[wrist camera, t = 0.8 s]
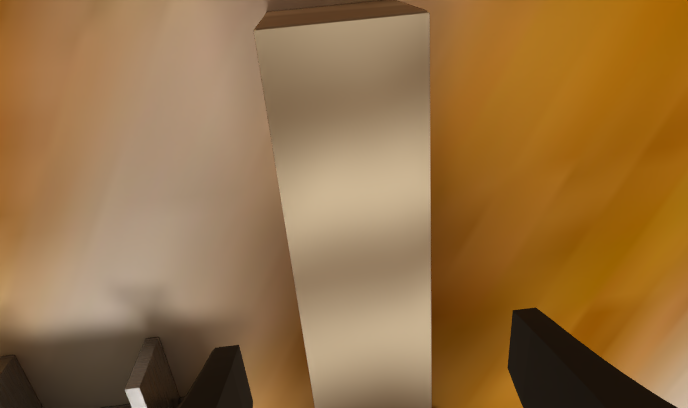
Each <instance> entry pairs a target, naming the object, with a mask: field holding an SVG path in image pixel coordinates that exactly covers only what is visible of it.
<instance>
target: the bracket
mask: <svg viewBox="0 0 688 408" xmlns="http://www.w3.org/2000/svg"><path fill="white" fill-rule="evenodd" d="M125 392H126V395H127V397H128V399H129V402H130V404H127V405H119V406H111V407H103V408H179V406H180V405H181V403H182V402H183V400H184V398H185V397H181V398H179V395H178V392H177V389H176V386H175V383H174V380H173V377H172V375H171V372H170V369H169V366H168V363H167V360H166V357H165V354H164V351H163V348H162V345H161V343H160V340H159V337H155V338H147V339H145V341H144V344H143V346H142V349H141V351H140V353H139V356H138V358H137V361H136V363H135V365H134V368H133V370H132V373H131V375H130V377H129V380H128V382H127V385H126V387H125ZM0 408H42V406H41V404H40V402H39V400H38V398H37V396H36V395H35V393H34V391H33V389H32V387H31V385H30V383H29V381H28V380H27V378H26V376H25V374H24V372H23V370H22V368H21V366H20V365H19V363H18V361H17V359H16V357H15V355H10V356H2V357H0Z"/></svg>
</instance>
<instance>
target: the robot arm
mask: <svg viewBox="0 0 688 408" xmlns="http://www.w3.org/2000/svg"><path fill="white" fill-rule="evenodd" d="M508 370H509V373H510V375H511V378H512V381H513V383H514V386H515V389H516V391H517V393H518V396H519V398H520V401H521V403H522V406H523V407H524V408H677V407H676V406H674V405H672V404H670V403H669V402H667V401H665V400H664V399H662V398H660V397H659V396H657V395H656V394H654V393H652V392H651V391H649V390H648V389H646V388H645V387H643V386H642V385H640V384H639V383H637V382H636V381H634V380H633V379H631V378H630V377H628V376H627V375H625V374H624V373H622V372H621V371H619V370H618V369H616V368H615V367H614V366H612V365H611V364H609V363H608V362H607V361H605V360H604V359H602V358H601V357H600V356H598V355H597V354H596V353H594V352H593V351H592V350H590V349H589V348H588V347H586V346H585V345H584V344H582V343H581V342H580V341H578V340H577V339H576V338H574V337H573V336H572V335H571V334H569V333H568V332H567V331H565V330H564V329H563V328H562V327H560V326H559V325H558V324H556V323H555V322H554V321H553V320H551V319H550V318H549V317H547V316H546V315H545V314H544V313H542V312H541V311H540V310H538V309H537V308H529V309H521V310H513V316H512V327H511V337H510V348H509V359H508ZM179 408H253V400H252V396H251V391H250V387H249V383H248V379H247V375H246V371H245V367H244V363H243V359H242V355H241V351H240V347H239V345H234V346H227V347H219V348H215V349H214V350H213V351H212V353H211V354H210V356H209V358H208V360H207V361H206V363H205V365H204V367H203V369H202V370H201V372H200V374H199V375H198V377H197V379H196V381H195V382H194V384H193V386H192V387H191V389H190V390H189V392H188V394H187V395H186V397H185V398H184V400H183V402H182V403H181V405H180V406H179Z"/></svg>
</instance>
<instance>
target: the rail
mask: <svg viewBox="0 0 688 408" xmlns="http://www.w3.org/2000/svg"><path fill="white" fill-rule="evenodd" d="M254 37H255V43H256V49H257V55H258V62H259V68H260V74H261V80H262V86H263V92H264V98H265V104H266V111H267V117H268V123H269V129H270V135H271V141H272V147H273V154H274V160H275V166H276V172H277V178H278V184H279V190H280V197H281V203H282V209H283V215H284V221H285V227H286V233H287V239H288V246H289V252H290V258H291V264H292V270H293V276H294V282H295V289H296V295H297V301H298V307H299V313H300V319H301V325H302V332H303V338H304V344H305V350H306V356H307V362H308V368H309V374H310V381H311V387H312V393H313V399H314V405H315V408H432V393H431V194H430V13H429V12H427V11H426V10H424V9H421V8H418V7H415V6H412V5H409V4H406V3H403V2H400V1H397V0H380V1H370V2H360V3H350V4H340V5H330V6H320V7H310V8H300V9H290V10H280V11H270V12H267V13H266V14H265V15H264V17H263V18H262V20H261V21H260V22H259V24H258V25H257V26H256V28H255V29H254Z"/></svg>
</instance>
